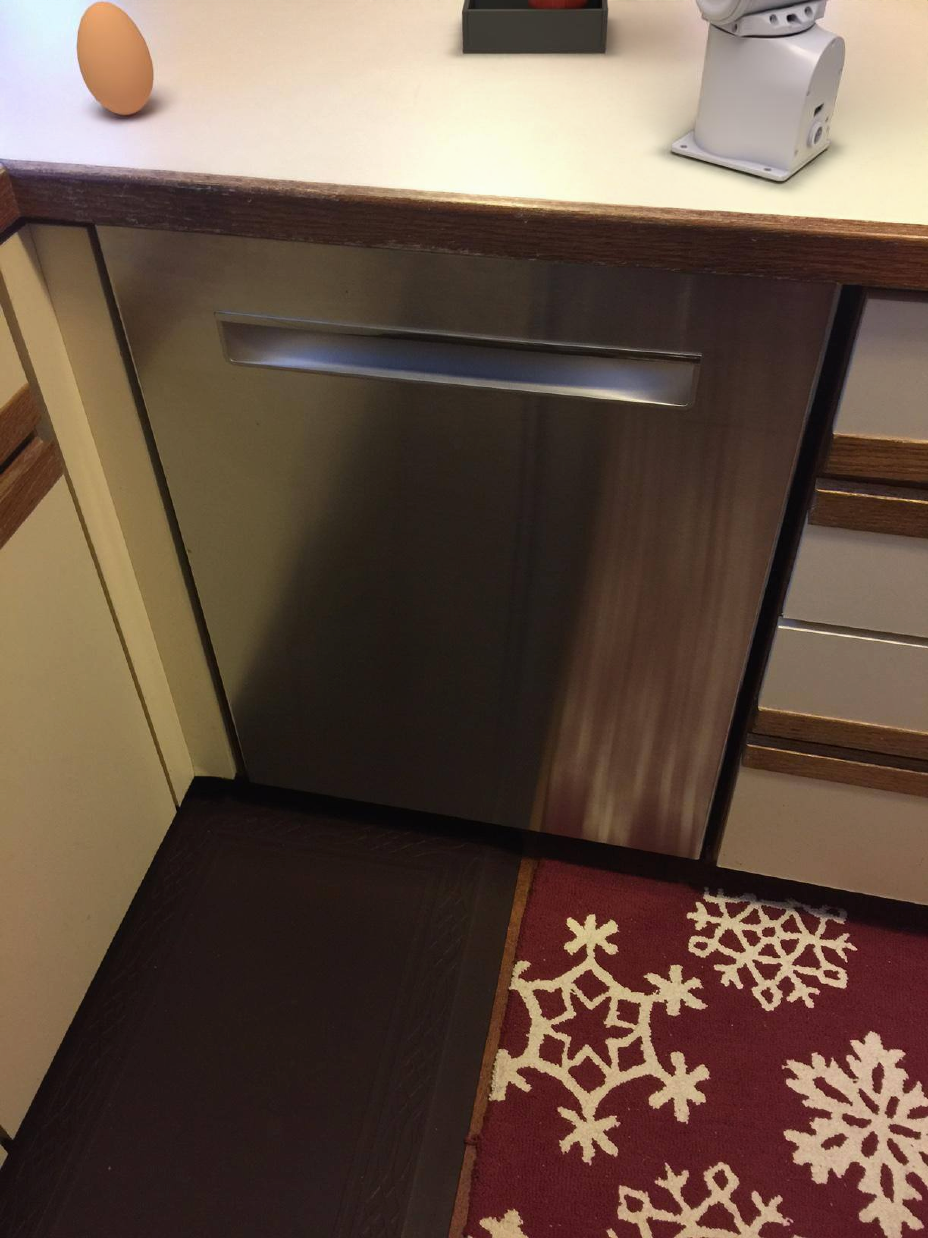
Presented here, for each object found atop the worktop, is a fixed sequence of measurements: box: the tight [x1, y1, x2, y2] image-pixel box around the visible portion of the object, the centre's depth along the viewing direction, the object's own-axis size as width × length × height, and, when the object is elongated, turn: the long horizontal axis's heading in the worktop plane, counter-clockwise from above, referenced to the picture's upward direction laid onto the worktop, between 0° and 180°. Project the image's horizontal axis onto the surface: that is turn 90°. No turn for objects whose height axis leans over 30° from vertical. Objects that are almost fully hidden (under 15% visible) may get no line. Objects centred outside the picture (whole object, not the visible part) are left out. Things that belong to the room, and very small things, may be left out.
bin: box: [461, 0, 609, 54], centre depth 96 cm, size 13×8×4 cm, turn 86°
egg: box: [76, 0, 155, 116], centre depth 84 cm, size 6×6×8 cm
